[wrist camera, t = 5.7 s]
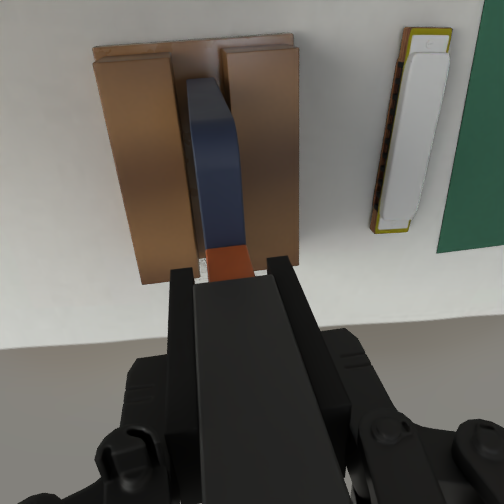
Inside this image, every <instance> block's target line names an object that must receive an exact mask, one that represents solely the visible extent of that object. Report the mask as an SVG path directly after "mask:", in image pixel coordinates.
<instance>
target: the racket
mask: <svg viewBox="0 0 504 504" xmlns="http://www.w3.org/2000/svg"><path fill="white" fill-rule="evenodd" d="M186 83H187V96H188V109H189V121H190V131H191V140H192V148H193V156H194V165H195V173H196V180H197V188H198V196H199V204H200V212H201V220H202V228H203V236H204V243H205V252H206V262H207V271H208V281H209V282H208V283H200V284H194V285H193V304H194V326H195V349H196V372H197V394H198V417H199V440H200V462H201V485H202V504H352V501H351V498H350V495H349V492H348V490H347V487H346V484H345V481H344V478H343V475H342V472H341V469H340V466H339V464H338V461H337V458H336V455H335V452H334V449H333V446H332V443H331V441H330V438H329V435H328V432H327V429H326V426H325V423H324V420H323V417H322V415H321V412H320V409H319V406H318V403H317V400H316V397H315V394H314V391H313V389H312V386H311V383H310V380H309V377H308V374H307V371H306V368H305V365H304V363H303V360H302V357H301V354H300V351H299V348H298V345H297V342H296V339H295V337H294V334H293V331H292V328H291V325H290V322H289V319H288V316H287V314H286V311H285V308H284V305H283V302H282V299H281V296H280V293H279V290H278V288H277V285H276V282H275V279H274V276H273V275H263V276H255V274H254V271H253V267H252V263H251V260H250V256H249V253H248V249H247V246H246V234H245V220H244V206H243V191H242V177H241V163H240V152H239V144H238V137H237V130H236V125H235V121H234V118H233V116H232V114H231V112H230V110H229V108H228V106H227V104H226V102H225V99H224V97H223V95H222V93H221V91H220V89H219V87H218V85H217V83H216V81H215V78H214V77H210V78H197V79H187V80H186Z"/></svg>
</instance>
